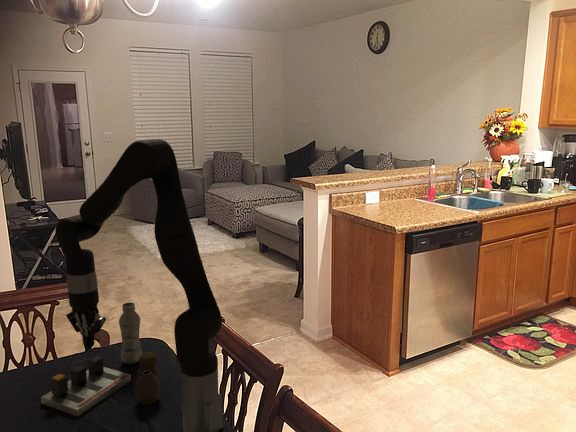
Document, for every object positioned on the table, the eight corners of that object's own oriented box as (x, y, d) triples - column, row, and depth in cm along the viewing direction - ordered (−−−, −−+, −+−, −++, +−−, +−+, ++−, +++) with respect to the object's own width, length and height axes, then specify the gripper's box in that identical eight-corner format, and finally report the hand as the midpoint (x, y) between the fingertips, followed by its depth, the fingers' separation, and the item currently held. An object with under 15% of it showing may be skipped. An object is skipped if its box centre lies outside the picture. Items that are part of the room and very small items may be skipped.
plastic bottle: (120, 359, 159) (116, 302, 155) (141, 355, 162) (137, 299, 158) (122, 368, 153) (118, 309, 149) (144, 364, 156) (140, 306, 152)
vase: (135, 409, 132) (133, 380, 130) (136, 395, 138) (134, 368, 136) (161, 405, 133) (159, 377, 132) (160, 392, 140) (159, 364, 138)
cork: (154, 395, 138) (152, 360, 136) (134, 393, 140) (132, 358, 137) (163, 384, 144) (161, 350, 142) (145, 382, 145) (143, 348, 143)
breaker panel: (131, 380, 146) (129, 361, 145) (77, 416, 128) (75, 394, 127) (97, 370, 152) (95, 351, 151) (41, 403, 134) (39, 382, 133)
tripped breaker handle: (68, 391, 136) (66, 375, 135) (59, 396, 133) (57, 380, 132) (61, 388, 137) (59, 372, 136) (52, 394, 135) (50, 377, 134)
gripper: (111, 286, 131) (116, 345, 134) (76, 280, 136) (82, 337, 140) (90, 295, 124) (96, 357, 127) (53, 289, 130) (60, 348, 133)
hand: (89, 346), depth 134 cm, fingers closed
